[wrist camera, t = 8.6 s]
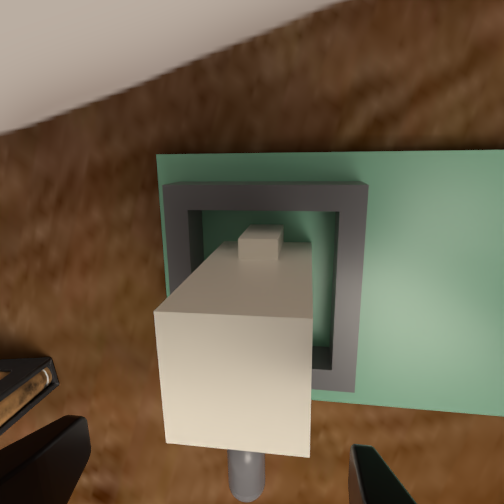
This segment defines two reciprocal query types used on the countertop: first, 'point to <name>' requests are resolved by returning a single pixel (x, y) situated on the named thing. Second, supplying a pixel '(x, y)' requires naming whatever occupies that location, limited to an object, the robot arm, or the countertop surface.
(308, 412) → the plug
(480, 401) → the board
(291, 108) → the countertop surface
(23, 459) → the robot arm
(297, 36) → the countertop surface
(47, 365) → the ammunition clip
